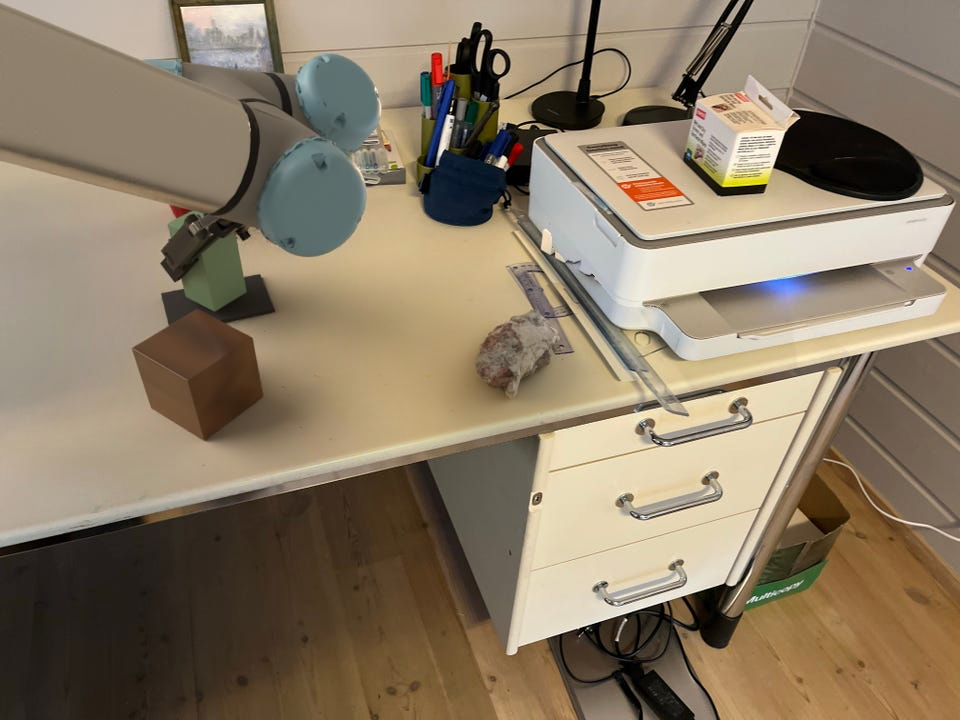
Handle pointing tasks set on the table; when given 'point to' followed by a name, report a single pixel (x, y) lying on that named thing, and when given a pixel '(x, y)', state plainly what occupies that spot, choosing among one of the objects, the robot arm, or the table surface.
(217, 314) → the mat
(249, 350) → the base block
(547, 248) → the modular blocks
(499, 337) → the mineral rock
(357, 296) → the table surface
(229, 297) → the top block
